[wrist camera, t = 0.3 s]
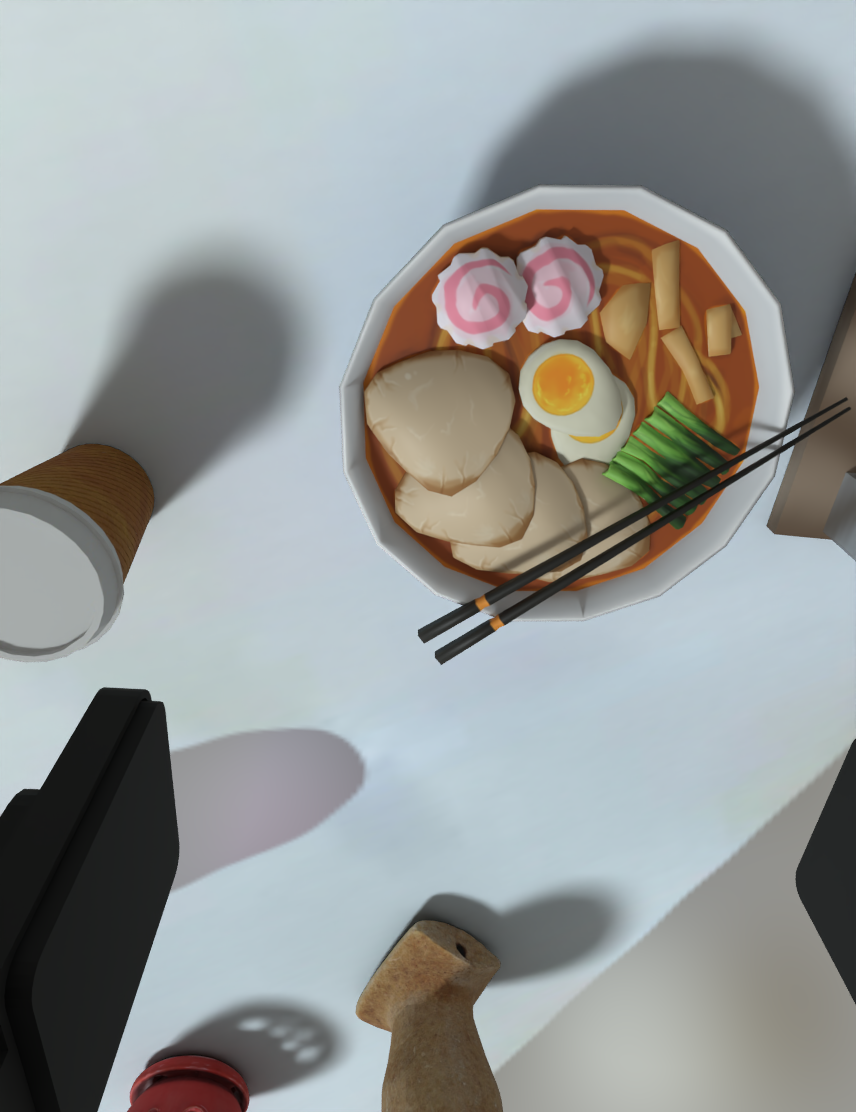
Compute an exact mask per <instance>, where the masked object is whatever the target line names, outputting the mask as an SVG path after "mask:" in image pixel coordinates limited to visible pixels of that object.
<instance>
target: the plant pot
mask: <svg viewBox="0 0 856 1112" xmlns="http://www.w3.org/2000/svg"><path fill="white" fill-rule="evenodd" d="M130 1103H131V1107H130V1108H129V1110H128V1111H127V1112H246V1111H247V1108H248V1105H249V1091H248V1088H247V1085H246V1083H245V1081H244V1079H243V1078H242V1077H241V1076H240V1074H239V1073H238V1072H237V1071H235V1070H234V1069H233V1068H232V1067H230V1066H228V1065H227V1064H225V1063H223V1062H221V1061H218V1060H216V1059H213V1058H209V1057H204V1056H195V1055H186V1056H177V1057H172V1058H167V1059H165V1060H162V1061H159V1062H157V1063H155V1064H153V1065H151V1066H150V1067H148V1068H147V1069H146V1070H144V1071H143V1072H142V1073H141V1074H140V1075H139V1076H138V1078H137V1079H136V1080H135V1082H134V1084H133V1086H132V1088H131V1091H130Z"/></svg>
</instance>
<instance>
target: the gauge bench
mask: <svg viewBox="0 0 856 1112" xmlns="http://www.w3.org/2000/svg"><path fill="white" fill-rule="evenodd" d="M845 397H847V398H848V400H847V401H846V402H844V403H842V404H840V405H839V406H837V407H835V408H833V409H832V410H830V411H828V412H826V413H825V414H823V415H821V416H819V417H818V418H816V419H814V420H812V421H811V422H809V423H807V424H805V425H804V426H802V427H801V430H800V433H799V435H798V437H799V436H800V435H802V434H804V433H805V432H807V431H809V430H810V429H812V428H814V427H815V426H817V425H819V424H820V423H822V422H824V421H826V420H827V419H829V418H831V417H832V416H834V415H836V414H837V413H839V412H841V411H842V410H844V409H846V408H848V407H851V410H849V411H848V412H846V413H845V414H843V415H841V416H840V417H838V418H837V419H835V420H833V421H832V422H830V423H829V424H827V425H825V426H824V427H822V428H821V429H819V430H817V431H816V432H814V433H812V434H811V435H809V436H808V437H806V438H804V439H803V440H801V441H800V442H798V443H796V444H795V447H794V450H793V452H792V455H791V458H790V461H789V464H788V467H787V469H786V472H785V475H784V478H783V481H782V484H781V486H780V489H779V492H778V495H777V498H776V501H775V503H774V506H773V509H772V512H771V515H770V518H769V520H768V523H767V527H768V528H769V529H770V530H771V531H772V532H773V533H774V534H779V535H789V536H799V537H810V538H820V539H831V540H833V541H834V542H835V543H836V544H837V545H838V546H839V547H841V548H842V549H843V550H844V551H845V552H846V553H847V554H848V555H849V556H851V557H852V558H853V559H854V560H855V561H856V274H855V277H854V279H853V282H852V285H851V288H850V291H849V294H848V296H847V299H846V302H845V305H844V308H843V311H842V313H841V316H840V319H839V322H838V325H837V328H836V330H835V333H834V336H833V339H832V342H831V345H830V347H829V350H828V353H827V356H826V359H825V362H824V364H823V367H822V370H821V373H820V376H819V379H818V381H817V384H816V387H815V390H814V393H813V396H812V398H811V401H810V404H809V407H808V410H807V413H806V415H805V418H804V420H805V419H807V418H809V417H811V416H812V415H814V414H816V413H818V412H820V411H822V410H823V409H825V408H827V407H829V406H831V405H833V404H834V403H836V402H838V401H840V400H842V399H844V398H845Z"/></svg>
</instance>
